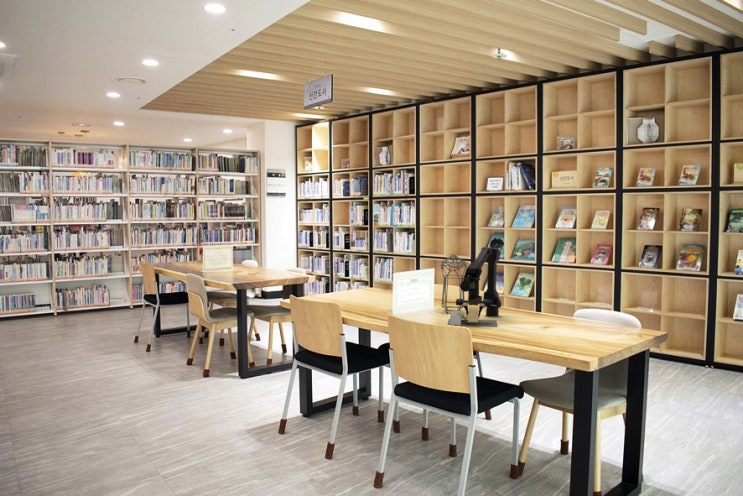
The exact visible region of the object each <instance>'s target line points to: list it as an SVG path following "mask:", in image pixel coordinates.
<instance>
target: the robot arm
mask: <svg viewBox="0 0 743 496" xmlns="http://www.w3.org/2000/svg"><path fill="white" fill-rule="evenodd" d="M501 255H502V253H501V250H500V249H499V248H498V247H488V246H487V247H486V246H483V247H481V249H480V252H479V253H478V255H477V257H476V259H475V260H474V261H473V262H472V263H470V264H469V265H468V266H467V267H466V270H465V272H464V275H463V279H464V281H463V282H461V281H460V291H461V290H462V291H464V293H467V294H468V295H467V300H465V299H464V300H463V298H461V299H460V298H456V299H455V302H456V303H455V306H459V305H461V307H463V308H464V310H465V313H469V306H479V307H478V319H480V317H481V313H482V311H483V309H484V308H486V309H485V316H486V317H488V318H491V317H493V318H495V317H496V318H497V317H498V316H499V308H501V307H502V301H501V299H500V297H499V292H498V291H497V268H498V267H497V264H498V262H499V261H500V259H501ZM485 262H487V263H486V264H487V279H486V280H487V287H486V288H487V289H486V290H485V291H483V296H482V295H480V281H481V278H480V277H481V275H482V274H483V266H484V264H485Z"/></svg>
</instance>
